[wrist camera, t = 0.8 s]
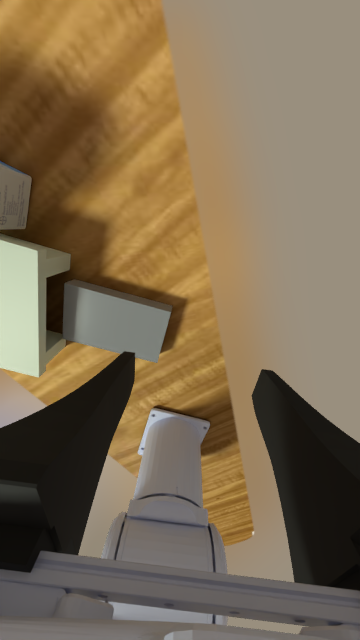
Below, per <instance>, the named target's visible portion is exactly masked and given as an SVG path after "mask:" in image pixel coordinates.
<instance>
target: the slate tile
mask: <svg viewBox="0 0 360 640" xmlns="http://www.w3.org/2000/svg"><path fill="white" fill-rule="evenodd" d="M171 311H172V306H171V305H168V304H164V303H160V302H157V301H153V300H150V299H146V298H142V297H139V296H135V295H131V294H128V293H124V292H120V291H117V290H113V289H109V288H106V287H102V286H98V285H95V284H91V283H87V282H84V281H80V280H76V279H73V280H71V281H68V282H66V283H64V309H63V338H62V339H65V340H69V341H73V342H77V343H81V344H85V345H89V346H93V347H97V348H101V349H105V350H109V351H112V352H116V353H120V354H122V353H123V352H124V351H127V352H134V353H135V357H136V358H140V359H144V360H148V361H152V362H156V363H157V362H158V358H159V354H160V351H161V347H162V344H163V340H164V336H165V333H166V329H167V325H168V322H169V318H170V314H171Z"/></svg>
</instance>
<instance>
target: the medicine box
mask: <svg viewBox="0 0 360 640" xmlns="http://www.w3.org/2000/svg"><path fill="white" fill-rule="evenodd" d="M31 182H32V178H31V176H29V175H27V174H25V173H23V172H21V171H19V170H17V169H15V168H13V167H11V166H9V165H7V164H5V163H3V162H2V161H0V230H11V229H25V228H26V222H27V214H28V206H29V197H30V189H31Z"/></svg>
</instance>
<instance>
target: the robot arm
mask: <svg viewBox="0 0 360 640" xmlns="http://www.w3.org/2000/svg"><path fill="white" fill-rule="evenodd" d="M134 377H135V353H134V352H127V351H124V352H123V353H122V354H120V355H119V356H118V357H117V358H116V359H115V360H114V361H113V362H111V363H110V364H109V365H108V366H107V367H106V368H104V369H103V370H102V371H101V372H100V373H98V374H97V375H96V376H94V377H93V378H92V379H90V380H89V381H88V382H86V383H85V384H84V385H82V386H81V387H79V388H78V389H76V390H75V391H73V392H72V393H70V394H69V395H67V396H65V397H64V398H62V399H60V400H58V401H56V402H55V403H53V404H51V405H49V406H47V407H45V408H44V409H42V410H40V411H38V412H36V413H34V414H32V415H29V416H27V417H25V418H23V419H21V420H19V421H16V422H14V423H12V424H9V425H7V426H4V427H2V428H0V640H360V443H358V442H357V441H356V440H354V439H353V438H351V437H350V436H348V435H347V434H346V433H344V432H343V431H342V430H340V429H339V428H338V427H336V426H335V425H334V424H332V423H331V422H330V421H329V420H327V419H326V418H325V417H324V416H322V415H321V414H320V413H319V412H317V410H315V409H314V408H313V407H312V406H311V405H310V404H308V403H307V402H306V401H305V400H304V399H303V398H302V397H301V396H299V395H298V394H297V393H296V392H295V391H294V390H293V389H292V388H291V387H290V386H289V385H288V384H287V383H285V381H283V380H282V379H281V378H280V377H279V376H278V375H277V374H276V373H275V372H273V371H271V370H263V369H262V370H261V373H260V375H259V378H258V381H257V383H256V386H255V389H254V391H253V394H252V400H253V405H254V410H255V414H256V417H257V420H258V424H259V427H260V430H261V432H262V435H263V438H264V441H265V444H266V447H267V450H268V453H269V456H270V459H271V463H272V466H273V471H274V475H275V479H276V483H277V487H278V492H279V497H280V501H281V506H282V511H283V516H284V521H285V527H286V532H287V537H288V543H289V549H290V556H291V562H292V568H293V575H294V581H295V583H294V582H286V581H278V580H270V579H262V578H254V577H245V576H237V575H230V574H227V564H226V556H225V550H224V545H223V541H222V538H221V535H220V533H219V532H218V530H217V528H216V526H215V525H214V524H213V523H208V512H207V509H203V497H202V474H201V450H200V445H201V443H202V441H203V439H204V437H205V435H206V433H207V431H208V429H209V427H210V422H209V421H206V420H202V419H198V418H194V417H190V416H186V415H182V414H178V413H174V412H170V411H166V410H161V409H157V408H152V409H151V412H150V415H149V418H148V421H147V424H146V428H145V431H144V434H143V437H142V440H141V444H140V447H139V450H138V454H139V455H143V456H142V461H141V465H140V470H139V475H138V479H137V484H136V489H135V494H134V498H133V500H130V504H129V508H128V513H126V512H121V513H120V514H119V515H118V516H117V517H116V518H115V519H114V521H113V522H112V524H111V527H110V529H109V532H108V535H107V538H106V542H105V545H104V549H103V553H102V556H101V558H95V557H87V556H79V555H78V553H79V549H80V546H81V542H82V538H83V535H84V531H85V527H86V524H87V520H88V517H89V513H90V510H91V506H92V502H93V499H94V496H95V492H96V489H97V486H98V482H99V479H100V475H101V472H102V469H103V466H104V463H105V460H106V456H107V453H108V450H109V447H110V444H111V441H112V438H113V436H114V433H115V431H116V429H117V426H118V424H119V421H120V419H121V417H122V414H123V412H124V410H125V407H126V405H127V402H128V400H129V397H130V394H131V391H132V387H133V384H134ZM154 414H155V415H154ZM228 616H229V617H237V618H245V619H253V620H262V621H270V622H277V623H286V624H294V625H302V626H309V627H302V629H301V631H300V633H299V634H291V633H283V632H275V631H266V630H259V629H251V628H243V627H234V626H227V621H228Z"/></svg>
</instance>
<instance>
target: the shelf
mask: <svg viewBox="0 0 360 640" xmlns="http://www.w3.org/2000/svg"><path fill="white" fill-rule="evenodd" d="M70 259H71V254H69V253H65V252H62V251H59V250H55V249H52V248H48V247H45V246H41V245H38V244H35V243H31V242H28V241H24V240H21V239H18V238H14V237H11V236H7V235H4V234H0V368H3V369H7V370H11V371H15V372H19V373H23V374H27V375H31V376H35V377H40V376H41V375H42V374H43V373H44V372H45V371H46V364H47V363H48V362H49V361H50V360H51V359H53V358H54V357H55V356H56V355H57V354H58V353H59V352H60V351H61V350H62V349H63V348H64V347H65V346H66V340H65V339H62V338H63V334H60V333H56V332H52V331H49V330H46V278H47V277H50V276H53V275H56V274H59V273H62V272H65V271H68V270H70Z"/></svg>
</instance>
